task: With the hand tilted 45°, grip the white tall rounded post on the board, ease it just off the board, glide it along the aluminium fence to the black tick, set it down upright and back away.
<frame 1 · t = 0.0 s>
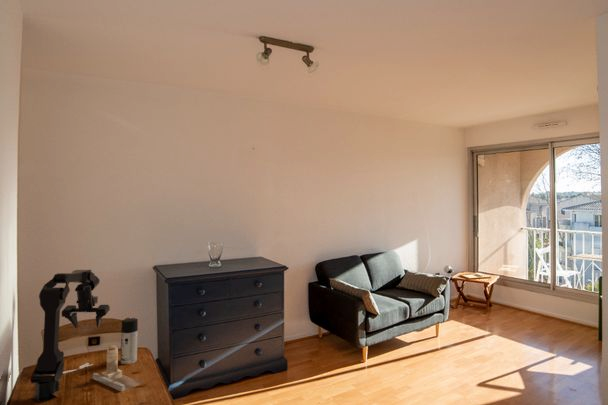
hand: (87, 327, 178), 15 cm above the table, tool pointing down, fingers open, 9 cm apart
pliers: (74, 373, 165), on the table
spray can: (128, 364, 174), on the table
white tall rounded post: (111, 377, 157), point 1 cm above the table, touching board
board: (117, 384, 154), on the table
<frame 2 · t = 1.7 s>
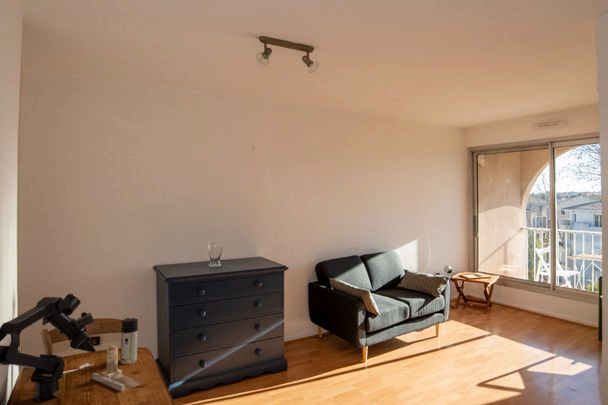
hand: (93, 348, 155), 14 cm above the table, tool tilted 45°, fingers open, 9 cm apart
nothing on the table moved.
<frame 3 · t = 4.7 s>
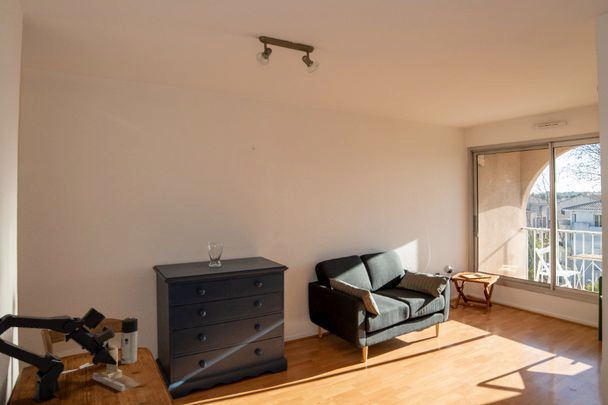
hand: (116, 362, 158), 8 cm above the table, tool tilted 45°, fingers closed on white tall rounded post, 4 cm apart
white tall rounded post: (111, 377, 157), point 1 cm above the table, touching board, gripper
everything else where it was.
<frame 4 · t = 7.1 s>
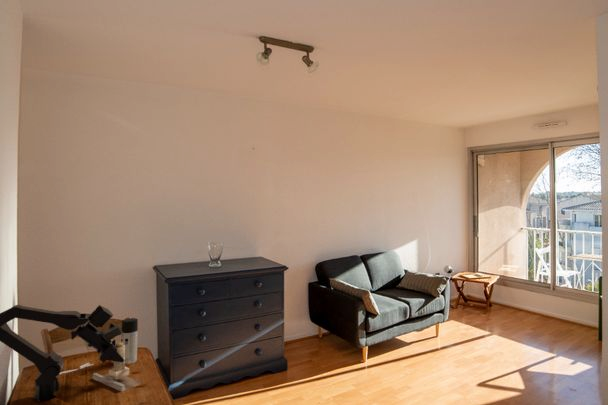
hand: (123, 359, 155), 10 cm above the table, tool tilted 45°, fingers closed on white tall rounded post, 4 cm apart
white tall rounded post: (119, 375, 154), point 3 cm above the table, touching gripper
everything else where it was.
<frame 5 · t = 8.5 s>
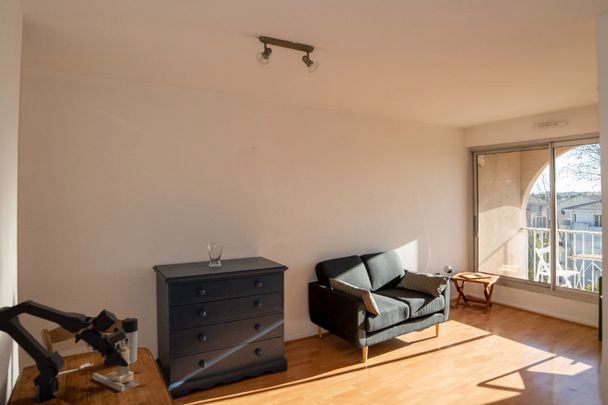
hand: (127, 363, 153), 9 cm above the table, tool tilted 45°, fingers closed on white tall rounded post, 4 cm apart
white tall rounded post: (123, 380, 153), point 3 cm above the table, touching gripper
everything else where it was.
when the fingers open (8 cm above the table, at t = 9.6 s): white tall rounded post stays where it is, resting on board.
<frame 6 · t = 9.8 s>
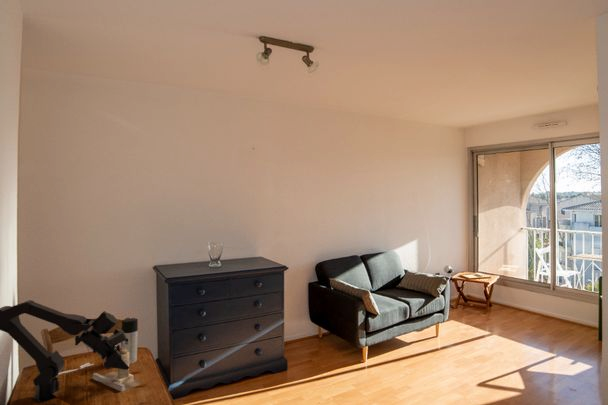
hand: (127, 365, 153), 8 cm above the table, tool tilted 45°, fingers open, 6 cm apart
white tall rounded post: (123, 382, 153), point 1 cm above the table, touching board
everything else where it was.
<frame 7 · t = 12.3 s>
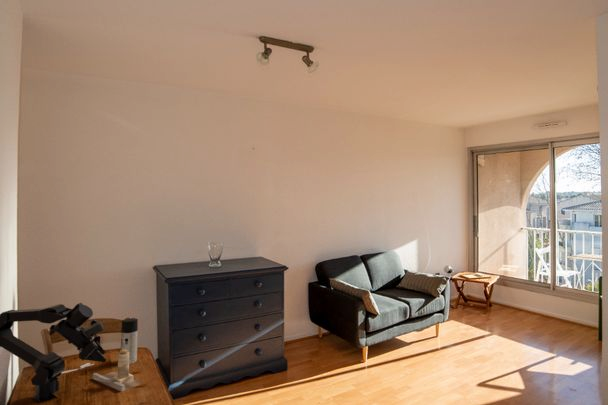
hand: (105, 357, 150), 13 cm above the table, tool tilted 45°, fingers open, 9 cm apart
nothing on the table moved.
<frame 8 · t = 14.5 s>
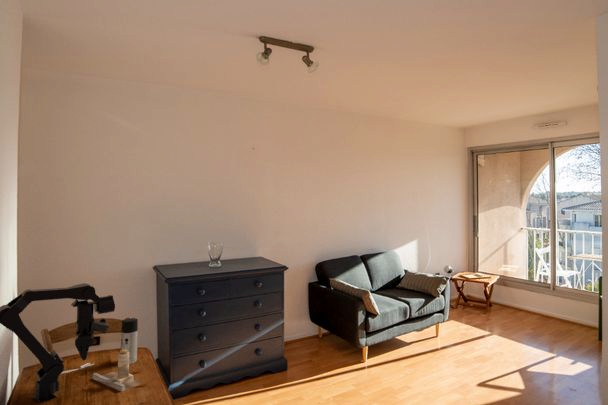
hand: (84, 356, 152), 12 cm above the table, tool pointing down, fingers open, 9 cm apart
nothing on the table moved.
at the end: white tall rounded post inside the target area (0.6 cm from its centre), point 1.5 cm above the table; white tall rounded post tilted 0°; the gripper is holding nothing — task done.
